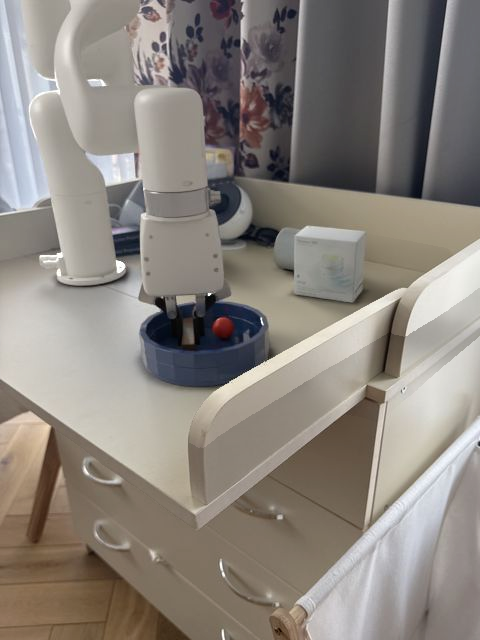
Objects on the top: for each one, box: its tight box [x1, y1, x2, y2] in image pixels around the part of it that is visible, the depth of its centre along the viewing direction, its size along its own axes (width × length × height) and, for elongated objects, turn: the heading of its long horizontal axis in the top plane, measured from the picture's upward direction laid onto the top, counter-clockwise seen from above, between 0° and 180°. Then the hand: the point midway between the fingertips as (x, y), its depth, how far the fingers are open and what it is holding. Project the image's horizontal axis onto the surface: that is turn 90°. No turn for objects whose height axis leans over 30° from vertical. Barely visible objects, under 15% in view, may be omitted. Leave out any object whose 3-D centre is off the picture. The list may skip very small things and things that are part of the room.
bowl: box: [138, 300, 270, 388], centre depth 72 cm, size 17×17×4 cm
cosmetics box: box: [293, 225, 368, 304], centre depth 90 cm, size 10×6×10 cm, turn 66°
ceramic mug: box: [273, 226, 302, 271], centre depth 103 cm, size 11×8×8 cm
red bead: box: [213, 317, 234, 339], centre depth 76 cm, size 3×3×3 cm
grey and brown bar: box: [182, 318, 196, 351], centre depth 73 cm, size 9×2×2 cm, turn 7°
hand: (189, 340), depth 73 cm, fingers closed on grey and brown bar, 1 cm apart
